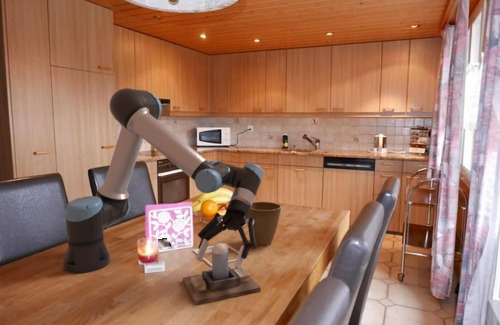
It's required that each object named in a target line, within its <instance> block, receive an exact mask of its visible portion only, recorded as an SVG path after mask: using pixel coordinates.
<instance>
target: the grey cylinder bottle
mask: <svg viewBox="0 0 500 325" xmlns="http://www.w3.org/2000/svg"><path fill="white" fill-rule="evenodd" d="M213 246H214V247H213V249H212V252H211V264H212V267H211V270H212V281H218V280H223V279H228V278H229V265H230V263H228V261H229V249H228V247H227V246H226V245H225V244H224V243H223V242H217V243H215V244H214V245H213Z"/></svg>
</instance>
